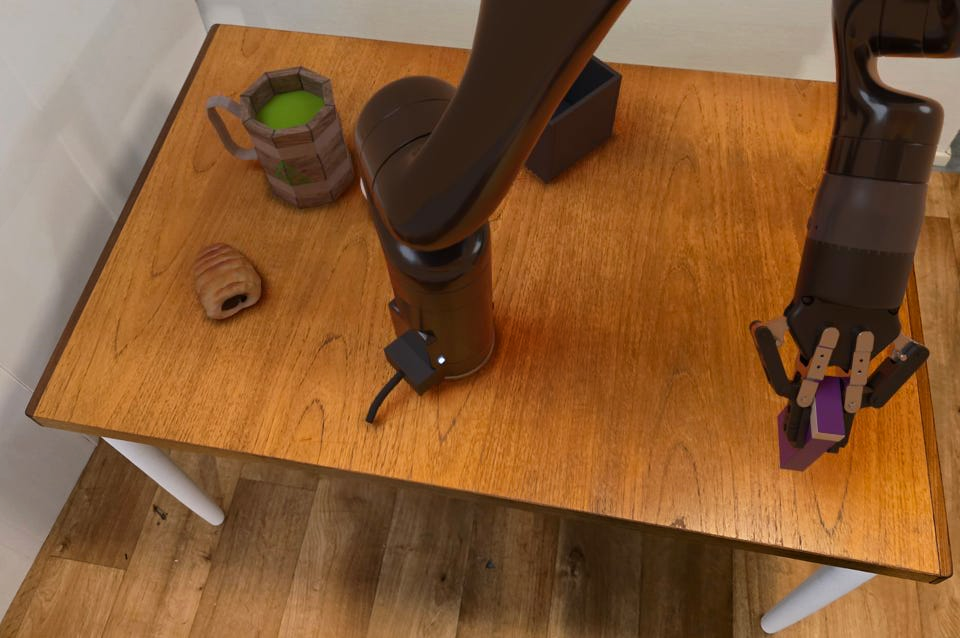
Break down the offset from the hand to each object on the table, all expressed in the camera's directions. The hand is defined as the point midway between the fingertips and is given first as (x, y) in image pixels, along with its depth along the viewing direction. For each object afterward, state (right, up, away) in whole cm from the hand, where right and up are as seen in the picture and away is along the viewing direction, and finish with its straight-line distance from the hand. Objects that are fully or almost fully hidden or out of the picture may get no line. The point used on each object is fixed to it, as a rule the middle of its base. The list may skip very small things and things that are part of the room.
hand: (812, 446), depth 61 cm
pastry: (-55, +14, +23) cm, 61 cm away
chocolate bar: (0, -1, +5) cm, 5 cm away
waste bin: (-19, +34, +32) cm, 50 cm away
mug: (-50, +28, +31) cm, 65 cm away
